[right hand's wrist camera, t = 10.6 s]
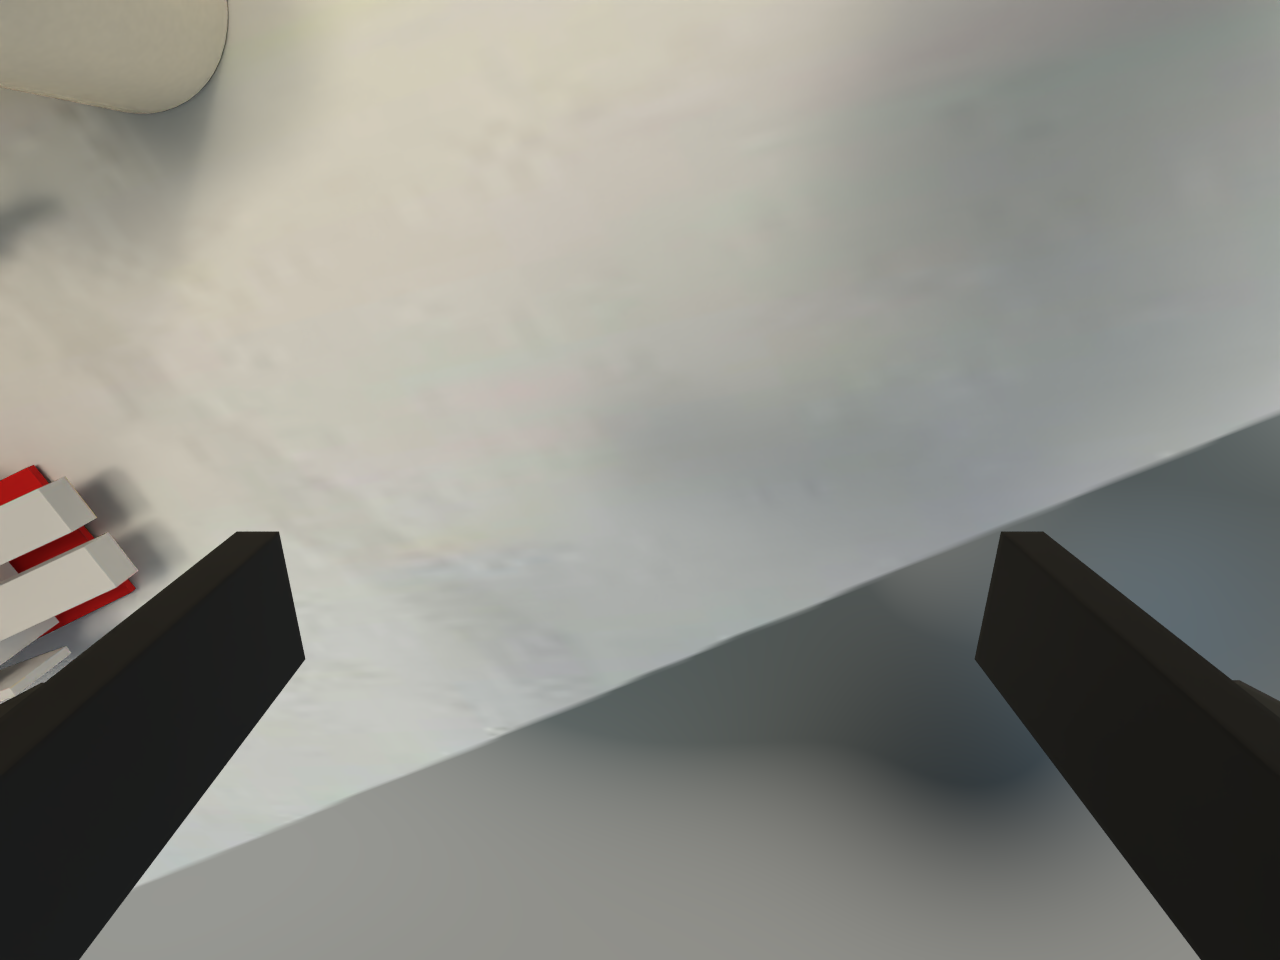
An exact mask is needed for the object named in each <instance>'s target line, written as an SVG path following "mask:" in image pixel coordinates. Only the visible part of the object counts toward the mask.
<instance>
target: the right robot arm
mask: <svg viewBox="0 0 1280 960" xmlns="http://www.w3.org/2000/svg"><path fill="white" fill-rule="evenodd" d="M304 660H305V655H304V650H303V646H302V641H301V636H300V631H299V626H298V621H297V617H296V612H295V607H294V602H293V597H292V592H291V588H290V583H289V578H288V573H287V568H286V563H285V559H284V554H283V549H282V544H281V539H280V534H279V532H236V533H234V534H233V535H232V536H231V537H229V538H228V539H227V540H226V541H224V542H223V543H222V544H220V545H219V546H218V547H217V548H215V549H214V550H213V551H212V552H210V553H209V554H208V555H206V556H205V557H204V558H203V559H201V560H200V561H199V562H198V563H196V564H195V565H194V566H192V567H191V568H190V569H189V570H187V571H186V572H185V573H184V574H182V575H181V576H180V577H179V578H177V579H176V580H175V581H173V582H172V583H171V584H170V585H168V586H167V587H166V588H165V589H163V590H162V591H161V592H159V593H158V594H157V595H156V596H154V597H153V598H152V599H151V600H149V601H148V602H147V603H145V604H144V605H143V606H142V607H140V608H139V609H138V610H137V611H135V612H134V613H133V614H131V615H130V616H129V617H128V618H126V619H125V620H124V621H123V622H121V623H120V624H119V625H117V626H116V627H115V628H114V629H112V630H111V631H110V632H109V633H107V634H106V635H105V636H104V637H102V638H101V639H100V640H98V641H97V642H96V643H95V644H93V645H92V646H91V647H90V648H88V649H87V650H86V651H84V652H83V653H82V654H81V655H79V656H78V657H77V658H76V659H74V660H73V661H72V662H70V663H69V664H68V665H67V666H65V667H64V668H63V669H62V670H60V671H59V672H58V673H56V674H55V675H54V676H53V677H51V678H50V679H49V680H48V681H46V682H45V683H40V684H38V685H36V686H34V687H32V688H30V689H29V690H27V691H25V692H23V693H21V694H19V695H17V696H15V697H13V698H11V699H9V700H8V701H6V702H4V703H2V704H0V960H79V959H80V958H81V956H82V955H83V954H84V952H85V951H86V950H87V948H88V947H89V946H90V945H91V943H92V942H93V941H94V939H95V938H96V937H97V935H98V934H99V933H100V931H101V930H102V928H103V927H104V926H105V925H106V923H107V922H108V921H109V919H110V918H111V917H112V915H113V914H114V913H115V911H116V910H117V909H118V907H119V906H120V905H121V903H122V902H123V901H124V899H125V898H126V897H127V895H128V894H129V893H130V891H131V890H132V889H133V887H134V886H135V885H136V883H137V882H138V881H139V879H140V878H141V877H142V875H143V874H144V873H145V871H146V870H147V869H148V867H149V866H150V865H151V863H152V862H153V861H154V859H155V858H156V857H157V855H158V854H159V853H160V852H161V850H162V849H163V848H164V846H165V845H166V844H167V842H168V841H169V840H170V838H171V837H172V836H173V834H174V833H175V832H176V830H177V829H178V828H179V826H180V825H181V824H182V822H183V821H184V820H185V818H186V817H187V816H188V814H189V813H190V812H191V810H192V809H193V808H194V806H195V805H196V804H197V802H198V801H199V800H200V798H201V797H202V796H203V794H204V793H205V792H206V790H207V789H208V788H209V786H210V785H211V784H212V782H213V781H214V780H215V778H216V777H217V776H218V774H219V773H220V772H221V770H222V769H223V768H224V766H225V765H226V764H227V762H228V761H229V760H230V759H231V757H232V756H233V755H234V753H235V752H236V751H237V749H238V748H239V747H240V745H241V744H242V743H243V741H244V740H245V739H246V737H247V736H248V735H249V733H250V732H251V731H252V729H253V728H254V727H255V725H256V724H257V723H258V721H259V720H260V719H261V717H262V716H263V715H264V713H265V712H266V711H267V709H268V708H269V707H270V705H271V704H272V703H273V701H274V700H275V699H276V697H277V696H278V695H279V693H280V692H281V691H282V689H283V688H284V687H285V685H286V684H287V683H288V681H289V680H290V679H291V677H292V676H293V675H294V673H295V672H296V671H297V669H298V668H299V667H300V666H301V664H302V663H303V662H304ZM975 660H976V662H977V663H978V664H979V666H980V667H981V668H982V669H983V671H984V672H985V673H986V675H987V676H988V677H989V679H990V680H991V681H992V683H993V684H994V685H995V687H996V688H997V689H998V691H999V692H1000V693H1001V695H1002V696H1003V697H1004V699H1005V700H1006V701H1007V703H1008V704H1009V705H1010V707H1011V708H1012V709H1013V711H1014V712H1015V713H1016V715H1017V716H1018V717H1019V719H1020V720H1021V721H1022V723H1023V724H1024V725H1025V727H1026V728H1027V729H1028V731H1029V732H1030V733H1031V735H1032V736H1033V737H1034V739H1035V740H1036V741H1037V743H1038V744H1039V745H1040V747H1041V748H1042V749H1043V751H1044V752H1045V753H1046V754H1047V756H1048V757H1049V759H1050V760H1051V761H1052V762H1053V764H1054V765H1055V766H1056V768H1057V769H1058V770H1059V772H1060V773H1061V774H1062V776H1063V777H1064V778H1065V780H1066V781H1067V782H1068V784H1069V785H1070V786H1071V788H1072V789H1073V790H1074V792H1075V793H1076V794H1077V796H1078V797H1079V798H1080V800H1081V801H1082V802H1083V804H1084V805H1085V806H1086V808H1087V809H1088V810H1089V812H1090V813H1091V814H1092V816H1093V817H1094V818H1095V820H1096V821H1097V822H1098V824H1099V825H1100V826H1101V828H1102V829H1103V830H1104V832H1105V833H1106V834H1107V836H1108V837H1109V838H1110V840H1111V841H1112V842H1113V844H1114V845H1115V846H1116V848H1117V849H1118V850H1119V852H1120V853H1121V854H1122V855H1123V857H1124V858H1125V859H1126V861H1127V862H1128V863H1129V865H1130V866H1131V867H1132V869H1133V870H1134V871H1135V873H1136V874H1137V875H1138V877H1139V878H1140V879H1141V881H1142V882H1143V883H1144V885H1145V886H1146V887H1147V889H1148V890H1149V891H1150V893H1151V894H1152V895H1153V897H1154V898H1155V899H1156V901H1157V902H1158V903H1159V905H1160V906H1161V907H1162V909H1163V910H1164V911H1165V913H1166V914H1167V915H1168V917H1169V918H1170V919H1171V921H1172V922H1173V923H1174V925H1175V926H1176V927H1177V929H1178V930H1179V931H1180V933H1181V934H1182V935H1183V937H1184V938H1185V939H1186V941H1187V942H1188V943H1189V944H1190V946H1191V947H1192V948H1193V950H1194V951H1195V952H1196V954H1197V955H1198V956H1199V958H1200V959H1201V960H1280V701H1278V700H1276V699H1274V698H1272V697H1271V696H1269V695H1267V694H1265V693H1263V692H1261V691H1259V690H1257V689H1255V688H1253V687H1251V686H1249V685H1248V684H1246V683H1244V682H1242V681H1240V680H1231V679H1230V678H1229V677H1227V676H1226V675H1225V674H1224V673H1222V672H1221V671H1220V670H1218V669H1217V668H1216V667H1215V666H1213V665H1212V664H1211V663H1210V662H1208V661H1207V660H1206V659H1204V658H1203V657H1202V656H1201V655H1199V654H1198V653H1197V652H1196V651H1194V650H1193V649H1192V648H1190V647H1189V646H1188V645H1187V644H1185V643H1184V642H1183V641H1182V640H1180V639H1179V638H1178V637H1176V636H1175V635H1174V634H1173V633H1171V632H1170V631H1169V630H1168V629H1166V628H1165V627H1164V626H1163V625H1161V624H1160V623H1159V622H1157V621H1156V620H1155V619H1154V618H1152V617H1151V616H1150V615H1148V614H1147V613H1146V612H1145V611H1143V610H1142V609H1141V608H1140V607H1138V606H1137V605H1136V604H1135V603H1133V602H1132V601H1131V600H1129V599H1128V598H1127V597H1126V596H1124V595H1123V594H1122V593H1121V592H1119V591H1118V590H1117V589H1115V588H1114V587H1113V586H1112V585H1110V584H1109V583H1108V582H1107V581H1105V580H1104V579H1103V578H1101V577H1100V576H1099V575H1098V574H1096V573H1095V572H1094V571H1093V570H1091V569H1090V568H1089V567H1088V566H1086V565H1085V564H1084V563H1082V562H1081V561H1080V560H1079V559H1077V558H1076V557H1075V556H1074V555H1072V554H1071V553H1070V552H1068V551H1067V550H1066V549H1065V548H1063V547H1062V546H1061V545H1060V544H1058V543H1057V542H1056V541H1054V540H1053V539H1052V538H1051V537H1049V536H1048V535H1047V534H1046V533H1044V532H1001V535H1000V540H999V544H998V549H997V554H996V559H995V564H994V568H993V573H992V578H991V583H990V588H989V592H988V597H987V602H986V607H985V612H984V617H983V621H982V626H981V631H980V636H979V641H978V646H977V651H976V655H975Z"/></svg>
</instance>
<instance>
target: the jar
mask: <svg viewBox="0 0 1280 960" xmlns="http://www.w3.org/2000/svg"><path fill="white" fill-rule="evenodd" d="M227 22H228V8H227V0H0V87H1V88H6V89H11V90H16V91H21V92H26V93H31V94H36V95H41V96H46V97H51V98H56V99H61V100H66V101H71V102H76V103H81V104H86V105H91V106H96V107H101V108H106V109H111V110H116V111H121V112H128V113H136V114H143V113H156V112H162V111H166V110H169V109H172V108H175V107H177V106H179V105H181V104H183V103H184V102H186V101H188V100H189V99H191V98H192V97H193V96H194V95H196V94H197V93H198V92H199V91H200V90H201V89H202V88H203V87H204V86H205V85H206V83H207V82H208V81H209V79H210V78H211V76H212V75H213V73H214V72H215V70H216V67H217V65H218V63H219V61H220V59H221V55H222V52H223V49H224V45H225V40H226V34H227Z"/></svg>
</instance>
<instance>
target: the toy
mask: <svg viewBox="0 0 1280 960" xmlns="http://www.w3.org/2000/svg"><path fill="white" fill-rule="evenodd" d="M96 518H97V517H96V515H95V514H94V513H93V512H92V510H91V509H90V508H89V506H88V505H87V504H86V503H85V501H84V500H83V499H82V497H81V496H80V495H79V494H78V492H77V491H76V490H75V488H74V487H73V486H72V485H71V483H70V482H69V481H68V479H67V478H66V477H63V478H61V479H58V480H56V481H54V482H52V483H48V482H47V480H46V479H45V478H44V477H43V476H42V474H41V473H40V472H39V471H38V469H37V468H36V467H35V466H34V465H32V466H30V467H27V468H25V469H23V470H21V471H19V472H17V473H15V474H13V475H11V476H9V477H7V478H5V479H3V480H1V481H0V665H2V664H3V663H4V662H6V661H7V660H9V659H10V658H11V657H13V656H14V655H15V654H17V653H18V652H19V651H21V650H22V649H23V648H25V647H26V646H28V645H29V644H30V643H32V642H33V641H34V640H36V639H38V638H40V637H42V636H44V635H46V634H48V633H50V632H52V631H54V630H56V629H58V628H60V627H62V626H64V625H66V624H68V623H70V622H72V621H74V620H76V619H78V618H80V617H82V616H84V615H86V614H88V613H90V612H92V611H94V610H96V609H98V608H100V607H102V606H104V605H106V604H109V603H111V602H113V601H115V600H117V599H119V598H121V597H123V596H125V595H127V594H129V593H131V592H132V591H133V590H135V589H136V588H135V587H134V586H133V585H132V583H131V582H130V581H129V580H128V578H130V577H131V576H132V575H134V574H135V573H136V572H138V570H137V568H136V567H135V566H134V564H133V563H132V562H131V561H130V559H129V558H128V557H127V555H126V554H125V553H124V552H123V550H122V549H121V548H120V546H119V545H118V544H117V543H116V541H115V540H114V539H113V537H112V536H111V535H110V534H109V532H107V533H105V534H103V535H101V536H99V537H97V538H94V537H93V536H92V535H91V534H90V532H89V531H88V530H87V529H86V528H85V526H84V525H85V524H87V523H89V522H90V521H92V520H94V519H96ZM70 654H71V652H70V651H69V649H68V648H67V646H64V647H62V648H59V649H56V650H53V651H51V652H48V653H45V654H42V655H40V656H37V657H34V658H31V659H29V660H26V661H23V662H20V663H17V664H15V665H12V666H9V667H6V668H4V669H1V670H0V702H1V701H3V700H6V699H9V698H12V697H14V696H16V695H18V694H19V693H20V692H22V691H23V690H24V689H26V688H27V687H28V686H30V685H31V684H32V683H33V682H35V681H36V680H37V679H39V678H40V677H41V676H43V675H44V674H45V673H46V672H48V671H49V670H50V669H52V668H53V667H54V666H56V665H57V664H58V663H59V662H61V661H62V660H63V659H65V658H66V657H67V656H69V655H70Z"/></svg>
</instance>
